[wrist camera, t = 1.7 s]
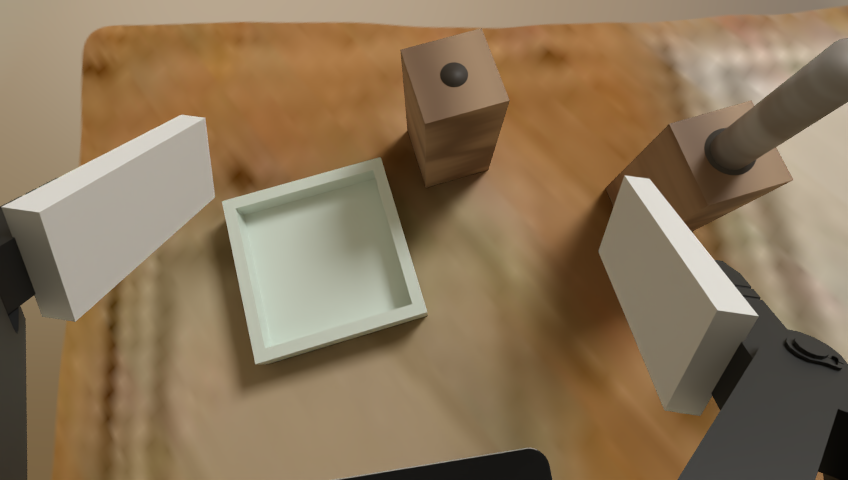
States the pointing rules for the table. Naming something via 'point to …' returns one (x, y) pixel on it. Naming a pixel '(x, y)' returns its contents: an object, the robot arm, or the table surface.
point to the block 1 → (453, 105)
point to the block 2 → (738, 143)
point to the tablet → (474, 468)
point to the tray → (321, 261)
